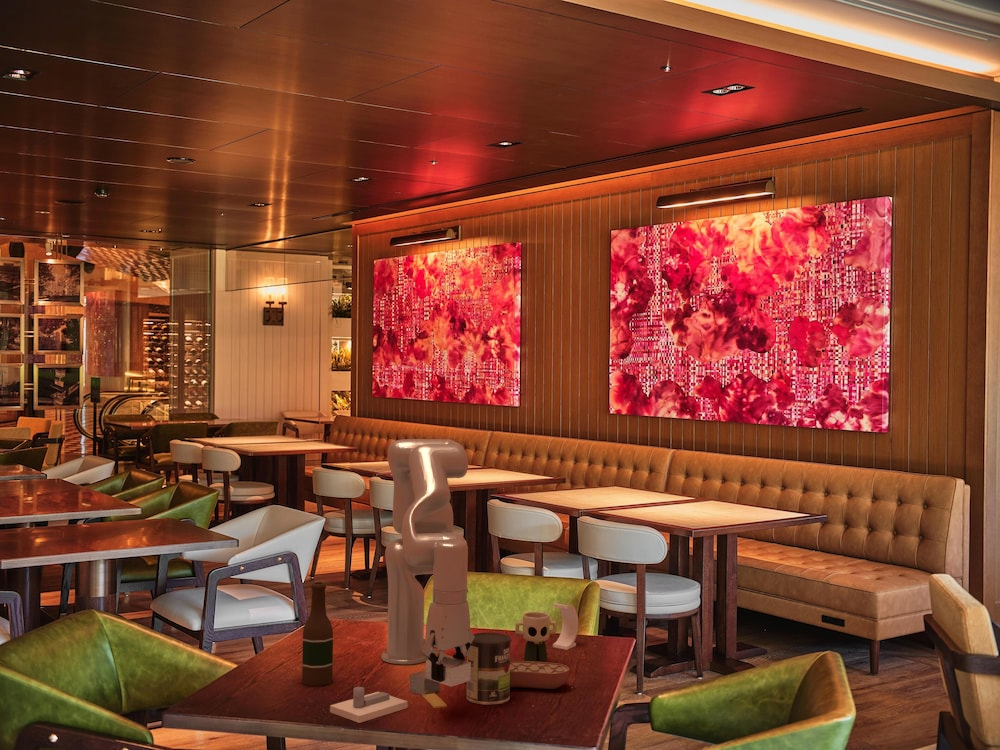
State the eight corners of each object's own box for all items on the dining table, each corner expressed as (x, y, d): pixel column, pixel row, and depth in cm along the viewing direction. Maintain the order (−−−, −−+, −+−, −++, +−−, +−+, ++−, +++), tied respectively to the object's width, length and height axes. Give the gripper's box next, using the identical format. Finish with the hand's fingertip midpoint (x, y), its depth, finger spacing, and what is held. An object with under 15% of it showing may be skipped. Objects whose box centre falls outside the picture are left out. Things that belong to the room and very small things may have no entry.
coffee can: (518, 696, 241) (519, 636, 241) (494, 708, 232) (495, 645, 232) (481, 688, 246) (482, 629, 246) (457, 699, 237) (458, 638, 237)
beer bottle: (326, 687, 245) (327, 587, 245) (295, 685, 247) (297, 585, 247) (338, 678, 253) (339, 580, 253) (308, 676, 254) (309, 579, 254)
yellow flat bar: (422, 696, 239) (422, 694, 239) (434, 695, 241) (434, 693, 241) (434, 708, 231) (434, 706, 231) (446, 706, 232) (446, 704, 232)
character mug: (517, 669, 263) (518, 618, 263) (512, 661, 270) (513, 611, 270) (558, 667, 264) (559, 617, 264) (553, 660, 271) (553, 611, 271)
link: (444, 671, 232) (445, 654, 232) (470, 680, 227) (470, 662, 227) (425, 677, 228) (425, 659, 228) (451, 686, 222) (451, 668, 222)
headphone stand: (552, 647, 285) (553, 603, 285) (563, 642, 290) (564, 599, 290) (567, 649, 282) (567, 606, 282) (578, 645, 287) (578, 602, 287)
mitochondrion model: (472, 692, 244) (472, 670, 244) (475, 679, 254) (475, 659, 254) (568, 694, 243) (569, 673, 243) (568, 682, 252) (568, 662, 252)
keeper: (377, 698, 238) (378, 674, 238) (407, 707, 231) (407, 683, 231) (329, 712, 227) (330, 687, 227) (359, 722, 221) (359, 697, 221)
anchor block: (424, 687, 247) (425, 670, 247) (439, 691, 243) (439, 674, 243) (409, 691, 243) (409, 674, 243) (424, 696, 240) (424, 678, 240)
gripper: (464, 586, 236) (462, 664, 236) (409, 599, 223) (407, 681, 223) (488, 592, 231) (486, 672, 231) (433, 606, 218) (431, 690, 218)
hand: (447, 676), depth 227 cm, fingers closed on link, 6 cm apart
